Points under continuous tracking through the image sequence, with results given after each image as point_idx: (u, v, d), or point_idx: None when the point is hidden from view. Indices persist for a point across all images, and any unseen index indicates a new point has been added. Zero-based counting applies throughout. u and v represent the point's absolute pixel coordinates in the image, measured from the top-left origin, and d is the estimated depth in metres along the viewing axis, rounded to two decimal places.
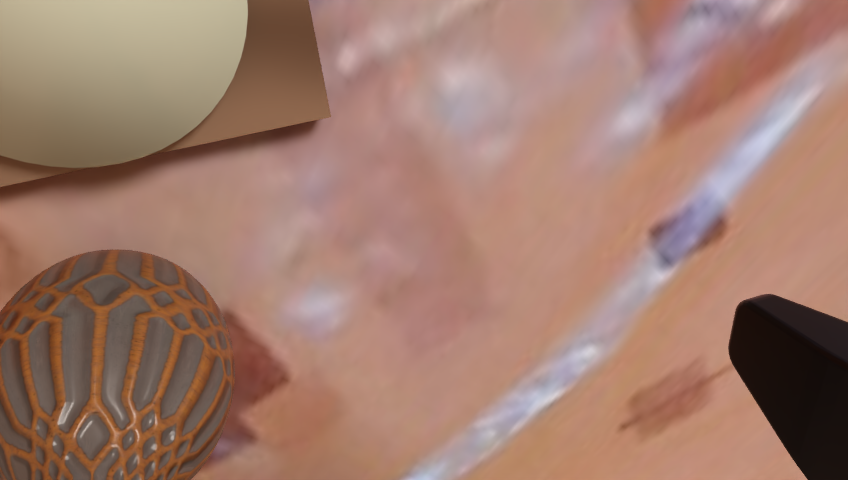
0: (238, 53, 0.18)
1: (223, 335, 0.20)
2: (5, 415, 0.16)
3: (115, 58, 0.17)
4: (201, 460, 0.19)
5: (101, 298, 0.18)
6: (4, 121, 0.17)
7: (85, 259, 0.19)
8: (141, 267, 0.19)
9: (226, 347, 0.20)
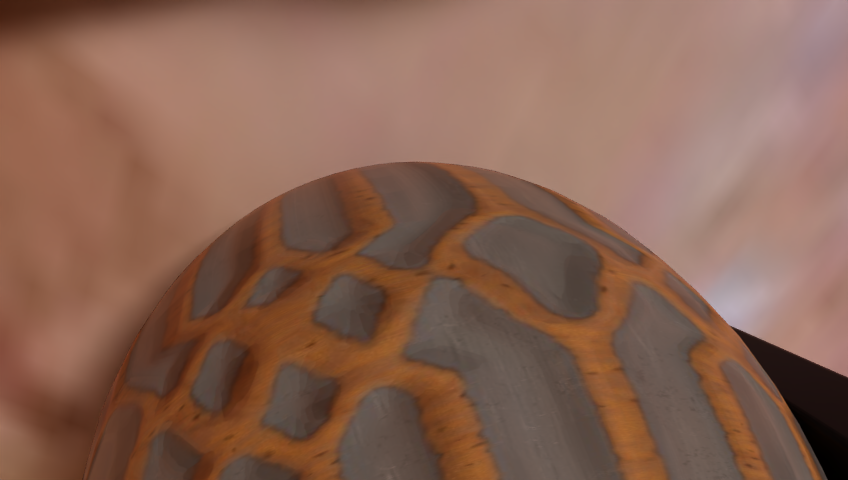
0: None
1: None
2: None
3: None
4: None
5: (556, 292, 0.05)
6: None
7: (391, 176, 0.06)
8: (560, 200, 0.06)
9: None
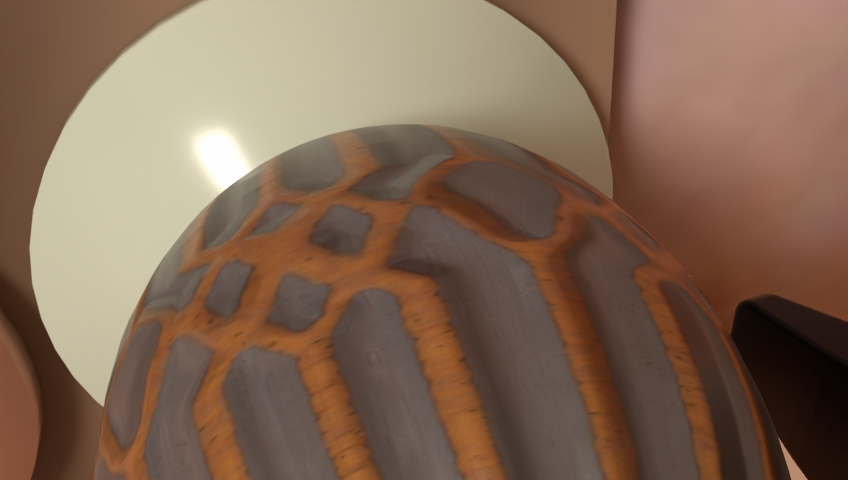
0: None
1: None
2: None
3: None
4: None
5: (519, 219, 0.06)
6: None
7: (380, 131, 0.07)
8: (531, 153, 0.07)
9: None
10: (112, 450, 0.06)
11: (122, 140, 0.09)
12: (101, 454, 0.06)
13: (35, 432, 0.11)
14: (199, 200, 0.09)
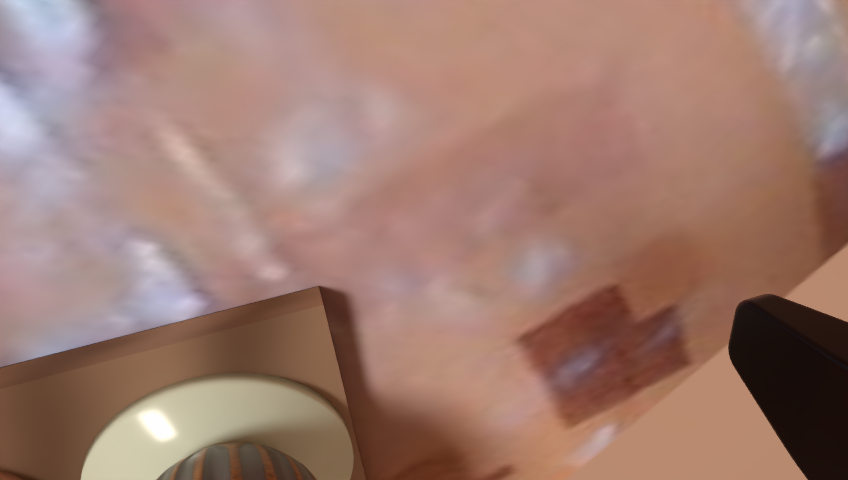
0: (260, 388, 0.22)
1: None
2: None
3: None
4: None
5: None
6: None
7: (210, 469, 0.20)
8: (265, 477, 0.20)
9: None
10: None
11: (117, 450, 0.21)
12: None
13: None
14: (150, 465, 0.22)
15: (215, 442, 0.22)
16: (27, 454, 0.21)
